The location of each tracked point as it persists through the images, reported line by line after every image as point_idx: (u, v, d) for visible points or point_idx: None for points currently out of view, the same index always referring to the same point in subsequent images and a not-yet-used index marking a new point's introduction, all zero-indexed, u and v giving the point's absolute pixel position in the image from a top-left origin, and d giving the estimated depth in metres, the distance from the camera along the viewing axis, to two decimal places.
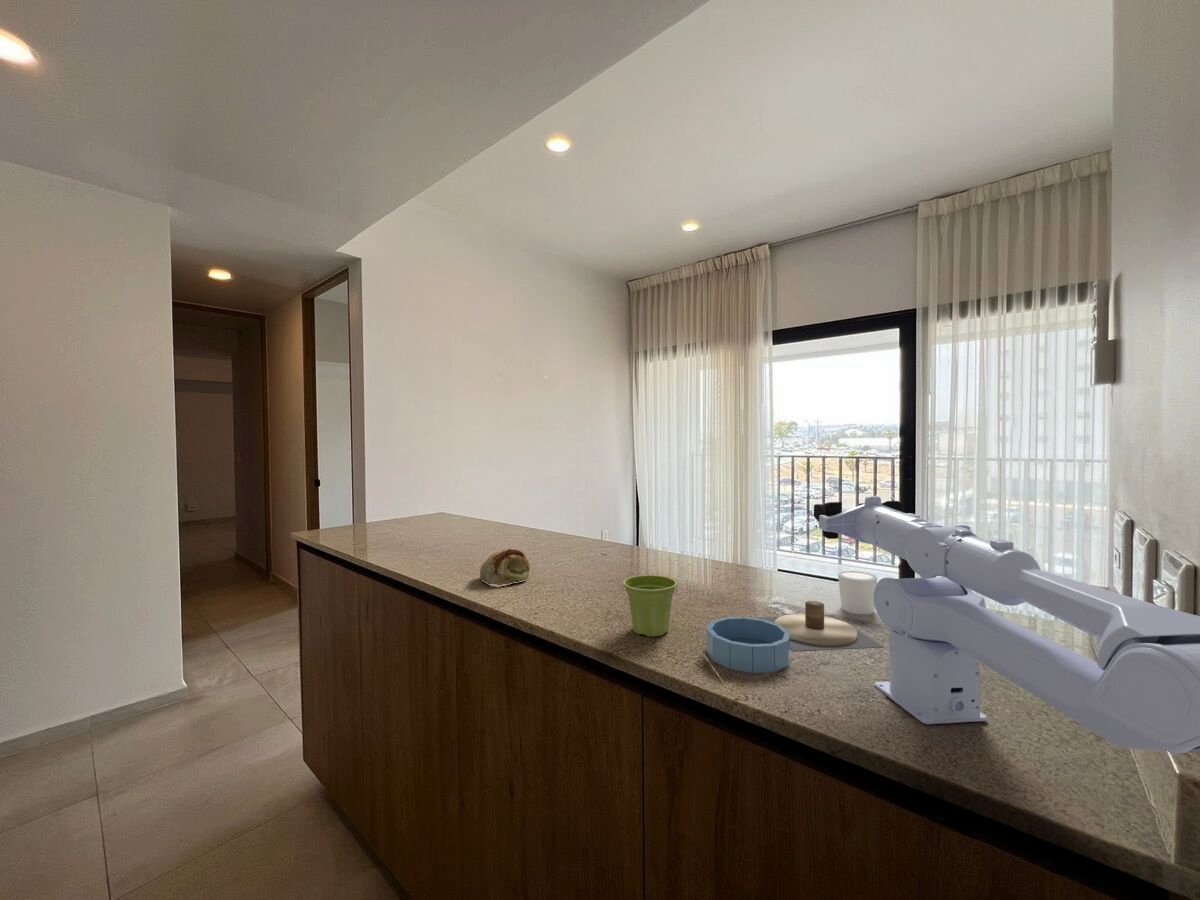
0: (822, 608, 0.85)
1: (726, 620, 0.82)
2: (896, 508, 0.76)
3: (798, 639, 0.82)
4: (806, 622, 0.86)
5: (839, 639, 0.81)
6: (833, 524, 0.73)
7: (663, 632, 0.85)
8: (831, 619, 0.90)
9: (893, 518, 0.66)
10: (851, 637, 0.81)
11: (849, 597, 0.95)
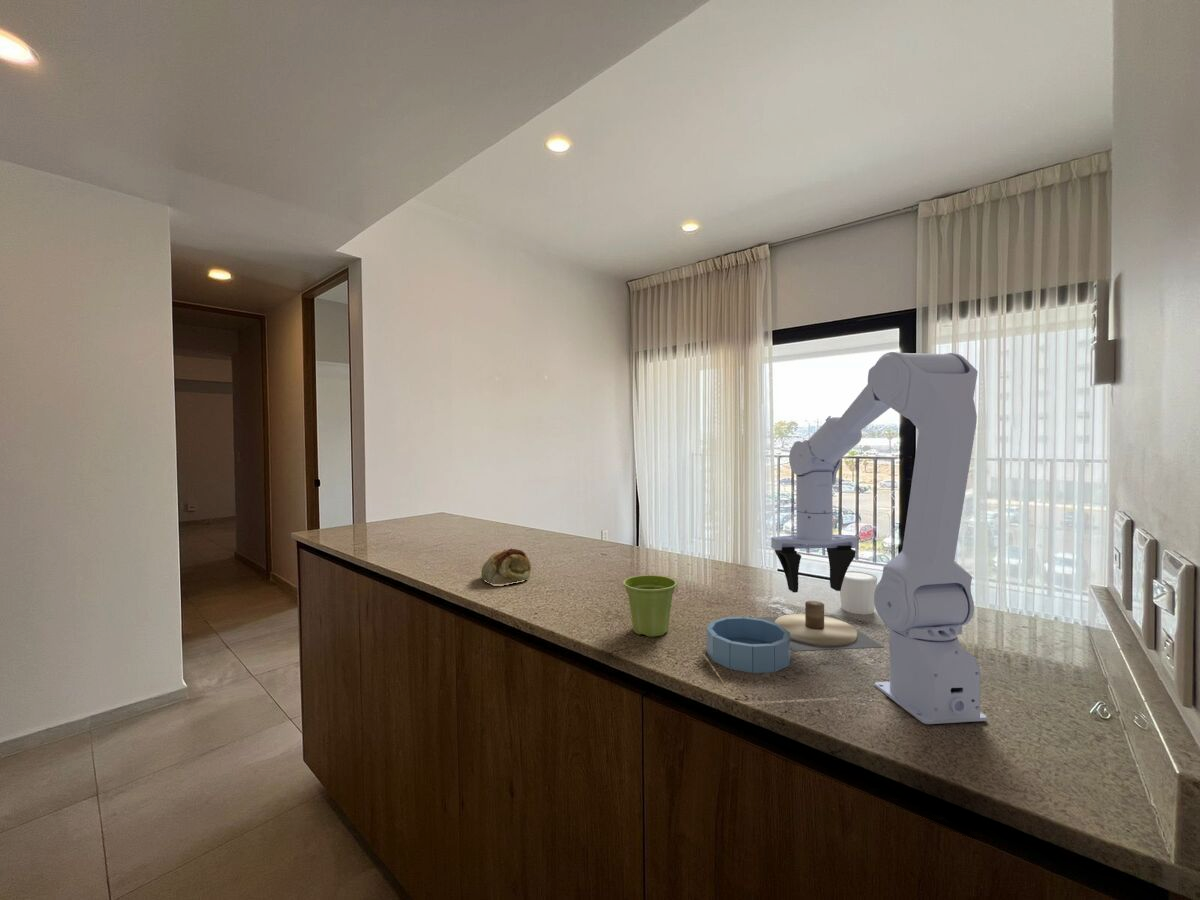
0: (822, 608, 0.85)
1: (726, 620, 0.82)
2: None
3: (798, 639, 0.82)
4: (806, 622, 0.86)
5: (839, 639, 0.81)
6: (780, 537, 0.86)
7: (663, 632, 0.85)
8: (831, 619, 0.90)
9: None
10: (851, 637, 0.81)
11: (849, 597, 0.95)
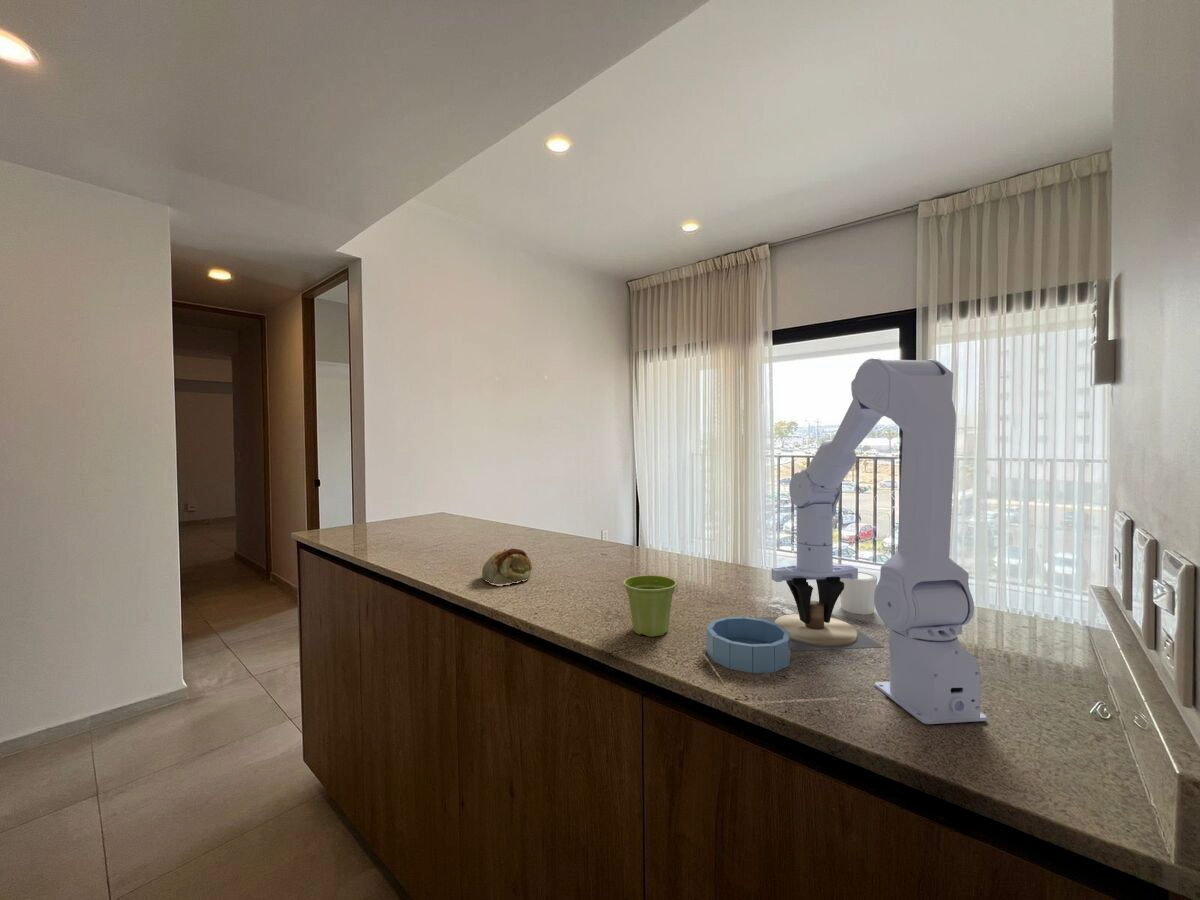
0: (822, 608, 0.85)
1: (726, 620, 0.82)
2: None
3: (798, 639, 0.82)
4: None
5: (839, 639, 0.81)
6: (780, 569, 0.86)
7: (663, 632, 0.85)
8: (831, 619, 0.90)
9: None
10: (851, 637, 0.81)
11: (849, 597, 0.95)
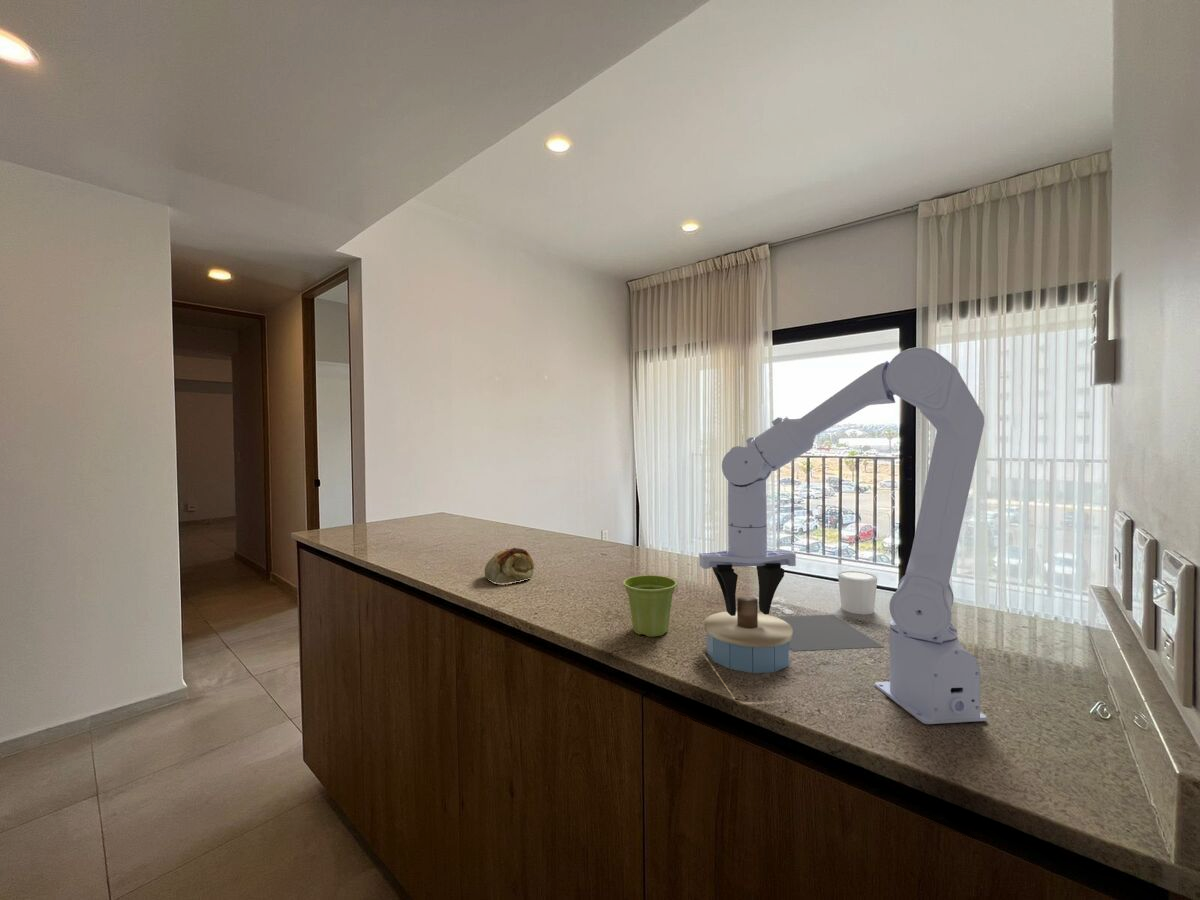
0: (754, 604, 0.76)
1: None
2: None
3: (723, 638, 0.73)
4: (738, 620, 0.77)
5: (768, 639, 0.71)
6: (708, 554, 0.76)
7: (663, 632, 0.85)
8: (770, 617, 0.80)
9: (728, 511, 0.77)
10: (783, 637, 0.72)
11: (849, 597, 0.95)
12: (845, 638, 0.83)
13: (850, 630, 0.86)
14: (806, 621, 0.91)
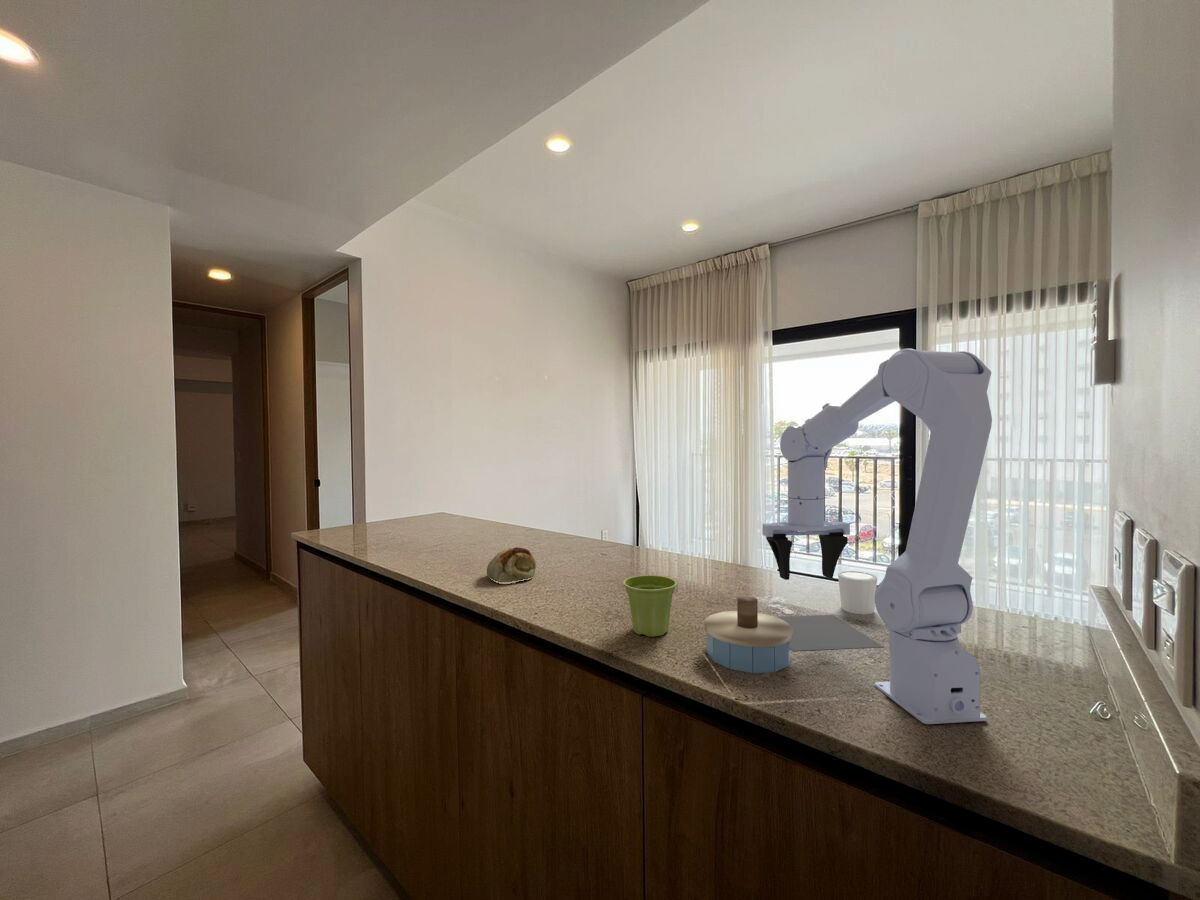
0: (754, 604, 0.76)
1: None
2: None
3: (723, 638, 0.73)
4: (738, 620, 0.77)
5: (768, 639, 0.71)
6: (771, 524, 0.84)
7: (663, 632, 0.85)
8: (770, 617, 0.80)
9: None
10: (783, 637, 0.72)
11: (849, 597, 0.95)
12: (845, 638, 0.83)
13: (850, 630, 0.86)
14: (806, 621, 0.91)
